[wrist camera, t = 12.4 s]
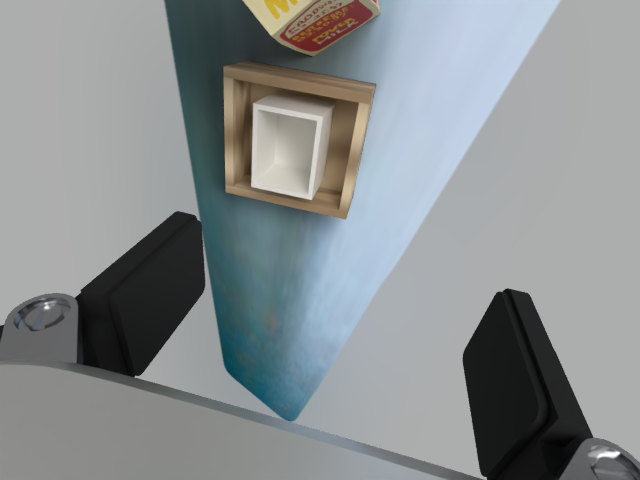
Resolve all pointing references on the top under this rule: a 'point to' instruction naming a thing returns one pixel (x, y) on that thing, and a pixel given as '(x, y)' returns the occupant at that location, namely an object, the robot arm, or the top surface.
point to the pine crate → (345, 141)
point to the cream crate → (290, 143)
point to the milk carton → (312, 20)
